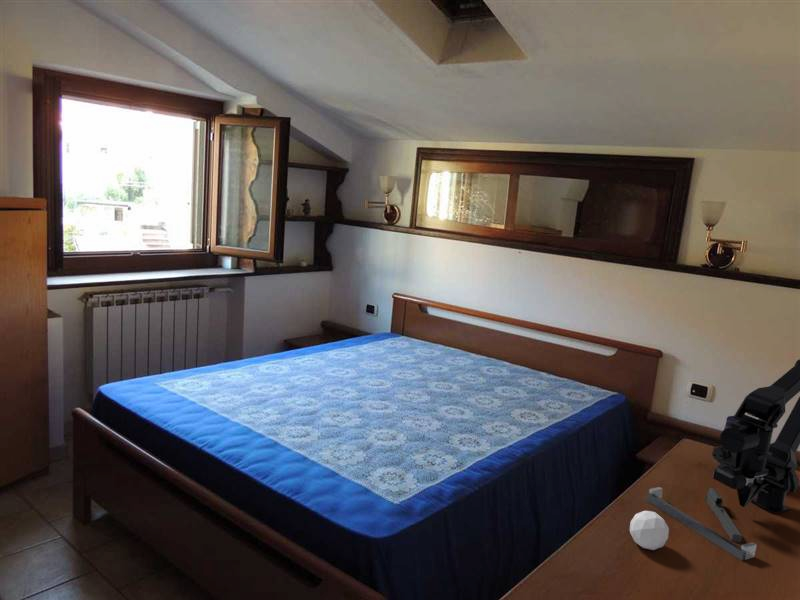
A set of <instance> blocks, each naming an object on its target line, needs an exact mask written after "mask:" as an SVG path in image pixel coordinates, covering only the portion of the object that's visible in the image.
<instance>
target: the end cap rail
mask: <svg viewBox="0 0 800 600" xmlns="http://www.w3.org/2000/svg"><path fill="white" fill-rule="evenodd" d="M648 491H649V492H647V493H646V494H647V495H646V499H645V501H646V502H648V503H650V504H651V505H652V506H654V507H656V508H658V509H659V510H661V511H662V512H664V513H666V515H669V516H670V517H672V518H673V519H674V520H677V521H678V522H680V523H681V524H683V525H684V526H686V527H687V528H689V529H690V530H692V531H694V532H695V533H697V534H699V535H700V536H701V537H703V538H705V539H707V540H708V541H710V542H711V543H713V544H715V546H717V547H719V548H721V549H722V550H724V551H726V552H727V553H729V554H730V555H732V556H733V557H735V558H737V559H738V560H740V561H746V560H750V559H752V558H755V556H756V552H757V551H756V550H757V544H756V543H755V542H753V541H751V542H748V543H744V544H741V547H740V546H738V545H737V544H735V543H734V542H733V541H732V540H729V539H727V538H725V537H724V536H722V535H721V534H720V533H718V532H716V531H714V530H712V529H711V528H709V527H707V526H706V525H705V524H703V523H701V522H699V521H698V520H696V519H695V518H693V517H691V516H690V515H688V514H687V513H684V512H683V511H681V510H680V509H678V508H676V507H675V506H673V505H672V504H670V503H669V502H667V501H665V500H664V499H662V496H663V492H664V491H663V488H662V487H660V486H657V487H652V488H649V490H648Z"/></svg>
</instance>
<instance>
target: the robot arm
mask: <svg viewBox="0 0 800 600" xmlns="http://www.w3.org/2000/svg"><path fill="white" fill-rule="evenodd" d="M798 393H800V359H797V360H796V362H795V364H794V365H793V367H791V368H790V369H789V370H788V371H786V372H785V373H784V374H783V375H781V377H779V378H778V379H776V380H775V382H772V384H770V385H769V386H763V387H762V386H761V387H759V388H756V389H754V390H752V391H750V392H749V393H748V394H747V395H746V396H745V397H744V399H743V401H741V404H740V405H739V407H738V409H736V412H735V414H734V415H733V416H734V417H733V418H734V419H736V420H739V422H733V423H732V425H731V427H729V428H726V429H724V428H723V430H722V432H721V433H720V436H719V437H720V438H719V439H720V443H721V446H720V445H717V446H714V447H713V450H712V452H711V456H712V458H713V459H714V460H716V462H717V463H718V462H728V463H731V466H733V467H737V468H738V470H734V469H732V468H730V467H728V466H726V467H721V468H717V467H716V468H715V469H713V472H712V477H711V478H712V480H714V481H717V482H719V483H720V484H722V485H724V486H726V487H728V488H730V489H733V490H736V492H737V498H738V503H739V506H740V507H742V508H746V507H747V506H748V505H749V504H750V503H753V504H755V505H757V506H759V507H760V508H762V509H764V510H766V511H768V512H769V513H772V514H778V513H782V512H786V511H790V510H791V507H789V506H787V505H785V502H786V498H787V497H786V496H787V493H796V490H797V489H798V487H799V485H800V479H799V477H798V475H797V473H796V469H797V468H798V464H797V457H796V456H797V455H796V452H797V450H798V449H799V447H800V396H799V397H798V399H797V401H796V402H795V404H794V406H793V407H792V410H791V412H790V413H789V415H788V416H787V419H786V420H785V423H784V425H782V428H781V429H780V432H779V433H778V435H777V437H776V438H775V440H774V441H773V442H772V438H773V433H774V432H773V431H774V429H777V428H778V422H779V421H780V420H781V419H782V417H783V416H784V414H785V413H786V405H787V403H788V402H789V401H790V400H792V399H793V398H794V397H795V396H796V395H798ZM771 442H772V443H771ZM756 496H757V497H756Z"/></svg>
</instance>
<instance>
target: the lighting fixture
mask: <svg viewBox="0 0 800 600" xmlns="http://www.w3.org/2000/svg"><path fill="white" fill-rule="evenodd" d="M705 494H706V495H705V499H704V501H705V502H706V504H707V505H708V507H709V506H710V507H711V508H710V507H709V508H710V510H711V509H712V510H711V511H712V512H713V511H714V513H715V514H716V516H717V517H718V519H719V520H720V522H721V524H722V525H721V524H720V525H721V526H722V529H724V531H725V533H726V534H727V536H728V538H729V539H730V541H731V542H733V543H734V542H735V543H740V544H741V543H742V540H743V534H742V533H741V532H740V530H739V529H738V527H737V526H736V524H735V523H734V522H733V520H732V519H731V517H730V516H729V514H728V512H727V511H726V510H725V508H724V507H723V506H722V504H723V503H724V502H723V497H722V496H721V494H720V493H719V492H718V490H717V488H715V487H709V490H708V491H707V493H705ZM714 513H713V514H714ZM715 514H714V515H715ZM716 516H715V517H716ZM717 517H716V518H717ZM718 519H717V520H718ZM719 520H718V521H719ZM720 522H719V523H720Z"/></svg>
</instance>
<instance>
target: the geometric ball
mask: <svg viewBox="0 0 800 600" xmlns="http://www.w3.org/2000/svg"><path fill="white" fill-rule="evenodd" d="M629 523H630V524H629V532H630V535H631V537H632V539H633V541H634V542H635V543H636V544H637V545H639V546H640V547H641V548H643V549H647V550H652V551H655V550H657V549H660V548H663V547H664V546H665V544H666V543H667V540H668V539H669V534H670V532H669V531H670V528H669V526H668V524H667V522H666V521H665V519H664V518H663V517H662V516H660V515H659V514H658V513H657V512H655V511H651V510H643V511H640V512H637V513H635V515H634V516H633V518H632V519H631V520H630V522H629Z"/></svg>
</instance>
